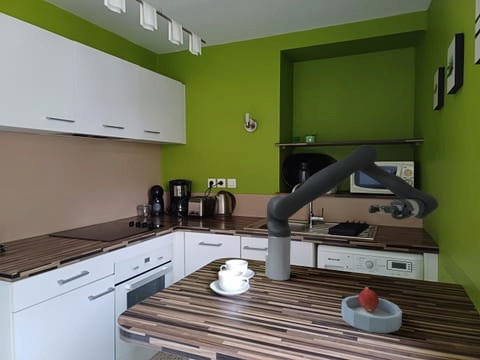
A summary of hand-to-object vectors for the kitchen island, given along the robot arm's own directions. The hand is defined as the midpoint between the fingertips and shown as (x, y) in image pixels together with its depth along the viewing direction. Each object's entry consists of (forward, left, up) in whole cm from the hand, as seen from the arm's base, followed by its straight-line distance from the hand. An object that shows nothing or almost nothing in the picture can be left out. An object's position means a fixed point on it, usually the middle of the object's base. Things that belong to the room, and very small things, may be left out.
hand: (380, 211), depth 115 cm
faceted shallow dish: (+3, -21, -30) cm, 37 cm away
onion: (+3, -21, -28) cm, 35 cm away
